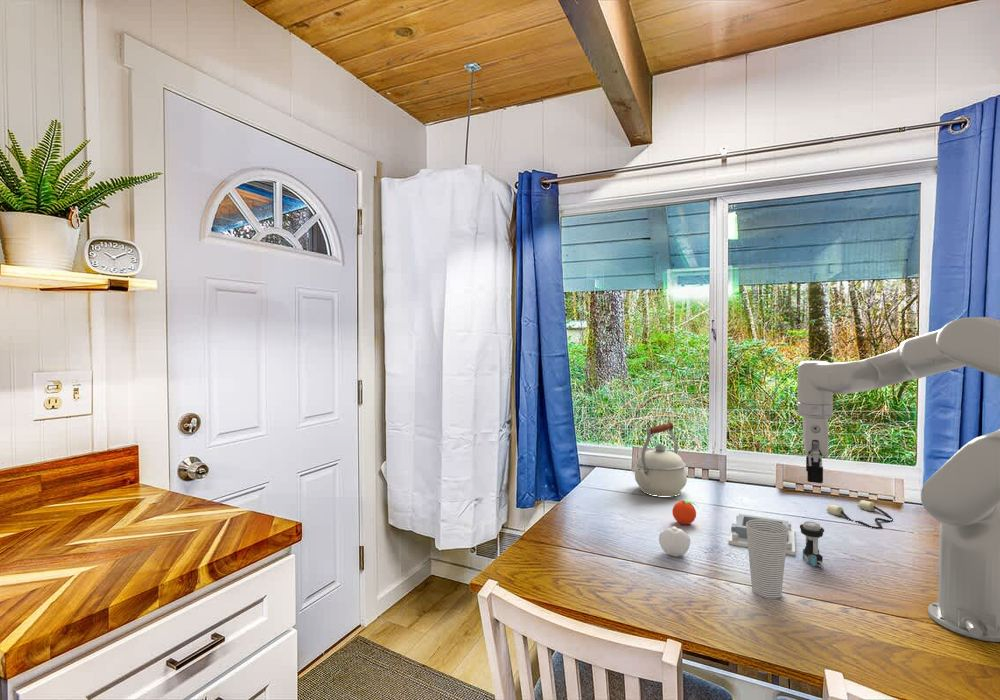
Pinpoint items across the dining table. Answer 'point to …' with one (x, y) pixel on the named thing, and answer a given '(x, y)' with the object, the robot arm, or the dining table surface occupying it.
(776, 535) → the cup
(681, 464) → the kettle
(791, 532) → the frame
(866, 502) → the cable
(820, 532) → the push button
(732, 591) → the dining table surface
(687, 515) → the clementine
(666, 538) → the white rounded piece
